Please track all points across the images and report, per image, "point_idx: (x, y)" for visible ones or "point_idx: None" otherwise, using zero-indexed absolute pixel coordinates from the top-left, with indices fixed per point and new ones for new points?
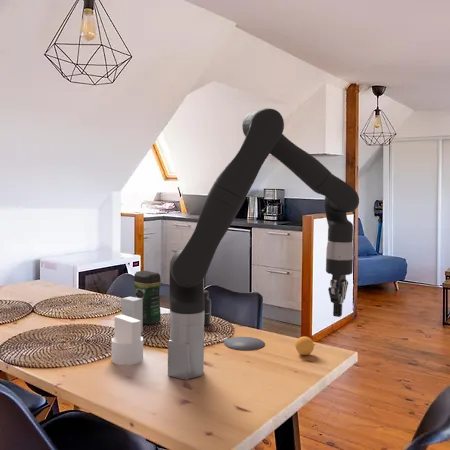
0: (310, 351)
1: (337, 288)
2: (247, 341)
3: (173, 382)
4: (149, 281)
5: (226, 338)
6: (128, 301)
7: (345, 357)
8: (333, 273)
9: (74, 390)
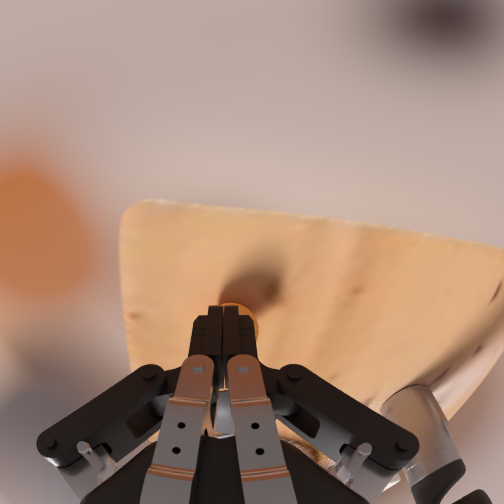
0: (242, 305)
1: (410, 456)
2: (223, 415)
3: (433, 389)
4: None
5: (230, 435)
6: None
7: (182, 211)
8: None
9: (449, 417)
